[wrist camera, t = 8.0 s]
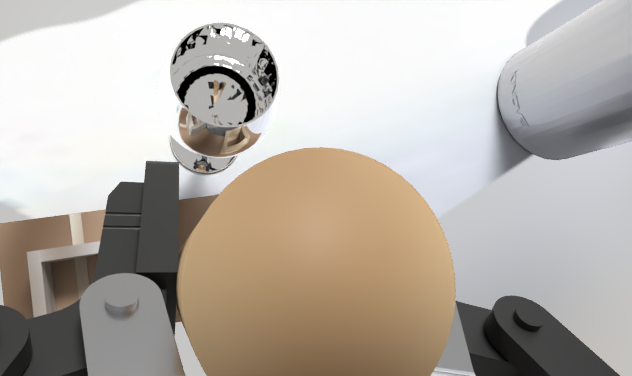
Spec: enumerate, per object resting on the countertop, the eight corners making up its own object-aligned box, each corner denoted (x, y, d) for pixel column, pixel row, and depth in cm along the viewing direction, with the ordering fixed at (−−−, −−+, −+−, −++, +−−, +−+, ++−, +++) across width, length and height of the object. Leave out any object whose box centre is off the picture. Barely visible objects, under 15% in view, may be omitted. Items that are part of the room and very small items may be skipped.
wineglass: (150, 174, 33) (142, 124, 22) (168, 86, 34) (169, -5, 23) (243, 190, 34) (281, 152, 23) (257, 106, 35) (300, 29, 24)
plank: (305, 186, 36) (322, 176, 32) (322, 291, 35) (342, 294, 31) (3, 226, 30) (-20, 220, 27) (16, 350, 30) (-6, 362, 26)
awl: (267, 218, 19) (427, 133, 7) (283, 320, 18) (479, 396, 7) (162, 234, 18) (162, 164, 6) (177, 344, 17) (207, 475, 6)
